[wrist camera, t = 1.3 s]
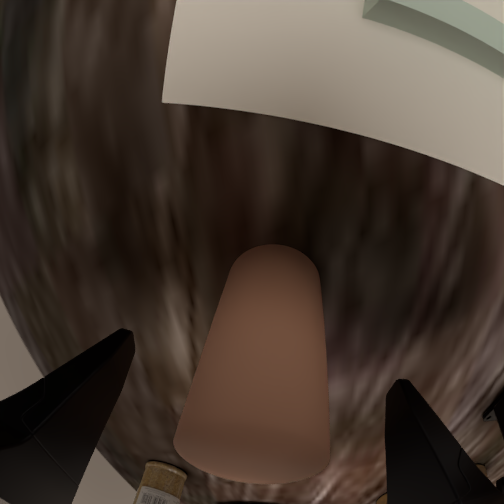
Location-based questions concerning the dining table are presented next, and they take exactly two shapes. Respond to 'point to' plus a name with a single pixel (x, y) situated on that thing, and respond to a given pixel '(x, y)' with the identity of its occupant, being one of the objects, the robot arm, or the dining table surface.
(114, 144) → the dining table surface
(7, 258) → the dining table surface
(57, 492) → the robot arm
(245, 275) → the terracotta peg
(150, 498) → the sprinkles bottle
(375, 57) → the socket board
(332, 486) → the dining table surface
